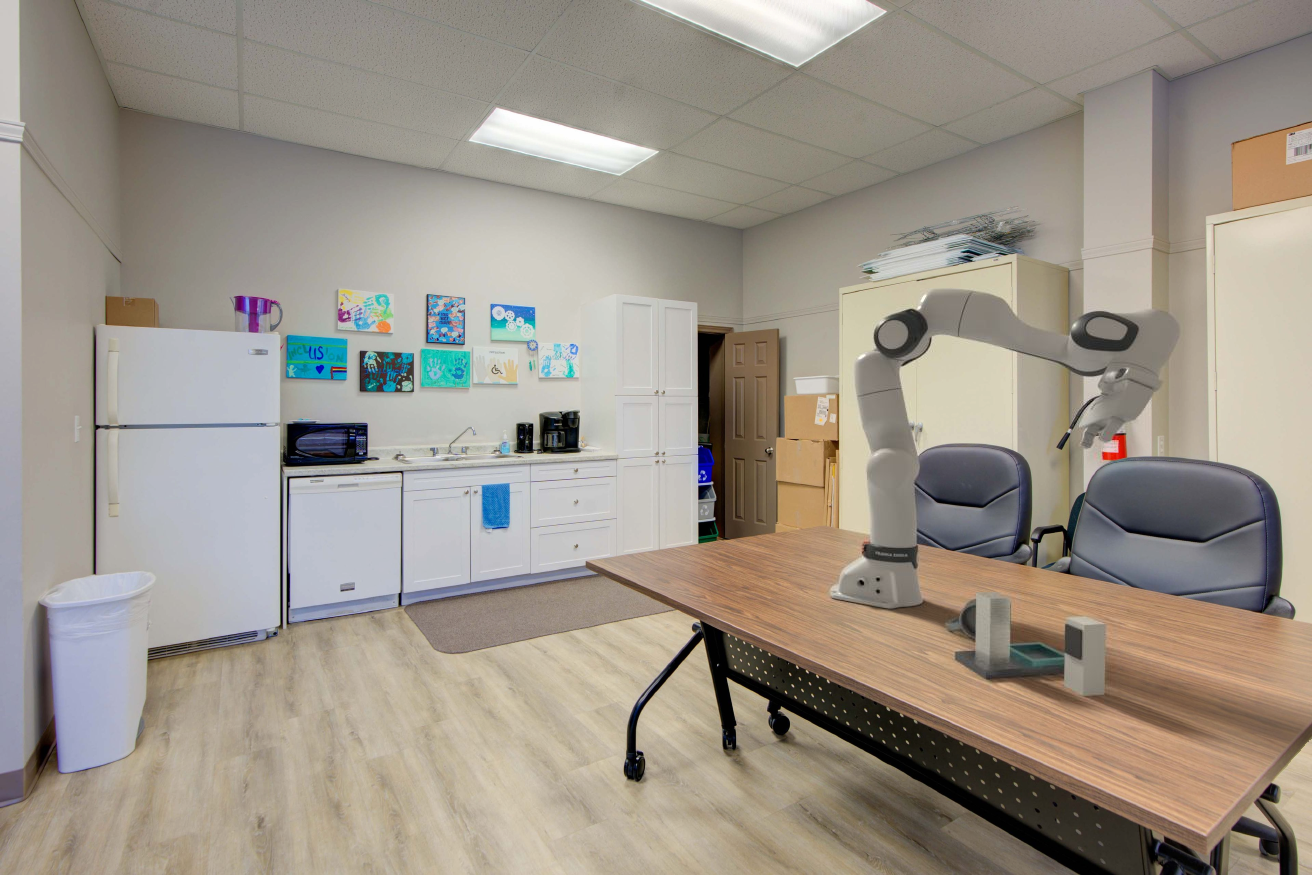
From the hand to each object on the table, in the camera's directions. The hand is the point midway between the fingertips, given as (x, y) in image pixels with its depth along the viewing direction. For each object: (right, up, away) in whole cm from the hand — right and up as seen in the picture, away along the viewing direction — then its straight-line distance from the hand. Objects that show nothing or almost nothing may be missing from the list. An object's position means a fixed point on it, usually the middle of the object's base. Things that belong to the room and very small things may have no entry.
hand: (1093, 444), depth 127 cm
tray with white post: (-23, -41, -11) cm, 48 cm away
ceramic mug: (-22, -41, +6) cm, 47 cm away
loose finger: (-17, -42, -21) cm, 50 cm away
